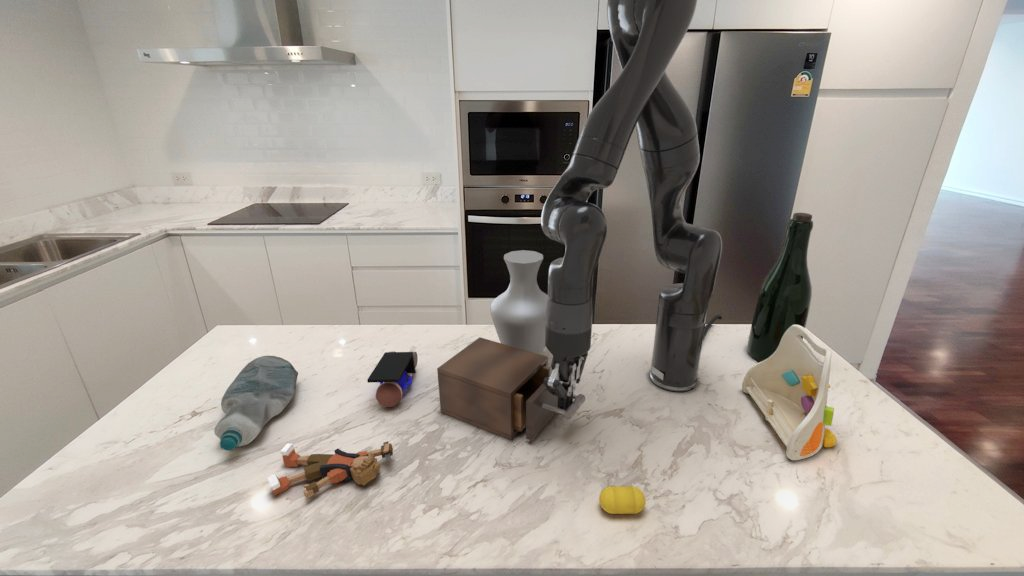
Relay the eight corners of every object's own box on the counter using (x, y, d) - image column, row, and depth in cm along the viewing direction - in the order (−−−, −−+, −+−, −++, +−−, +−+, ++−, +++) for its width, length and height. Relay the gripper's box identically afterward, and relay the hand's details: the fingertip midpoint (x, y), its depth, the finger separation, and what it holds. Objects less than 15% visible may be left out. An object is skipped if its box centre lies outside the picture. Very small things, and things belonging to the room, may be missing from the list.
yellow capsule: (600, 519, 69) (602, 500, 67) (596, 499, 72) (598, 481, 70) (647, 519, 69) (649, 500, 67) (640, 499, 72) (643, 480, 70)
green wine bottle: (802, 353, 110) (838, 212, 97) (791, 373, 103) (828, 223, 90) (753, 339, 116) (781, 205, 104) (739, 357, 109) (767, 214, 96)
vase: (516, 339, 118) (515, 241, 109) (567, 356, 110) (571, 252, 101) (479, 364, 107) (474, 259, 98) (532, 385, 100) (533, 273, 90)
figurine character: (390, 376, 106) (369, 411, 92) (387, 344, 104) (365, 375, 90) (420, 376, 106) (403, 412, 91) (418, 344, 104) (401, 375, 89)
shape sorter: (852, 463, 78) (883, 370, 71) (785, 461, 79) (810, 368, 72) (793, 392, 96) (813, 312, 89) (739, 391, 97) (755, 312, 90)
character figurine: (297, 430, 82) (395, 429, 79) (305, 452, 84) (401, 453, 81) (252, 482, 71) (364, 484, 68) (263, 507, 73) (372, 510, 70)
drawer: (591, 412, 90) (593, 376, 87) (562, 453, 80) (563, 414, 77) (499, 381, 99) (498, 348, 96) (463, 414, 89) (461, 378, 86)
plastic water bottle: (244, 381, 102) (184, 464, 79) (239, 351, 99) (176, 427, 76) (309, 381, 104) (269, 461, 81) (306, 352, 101) (264, 426, 78)
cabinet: (547, 399, 95) (548, 356, 91) (511, 440, 84) (510, 393, 80) (481, 377, 103) (479, 336, 99) (440, 412, 92) (436, 368, 88)
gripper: (572, 344, 71) (568, 438, 77) (605, 311, 81) (599, 397, 88) (528, 332, 74) (527, 423, 81) (565, 302, 85) (562, 385, 92)
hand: (565, 409), depth 85 cm, fingers closed
